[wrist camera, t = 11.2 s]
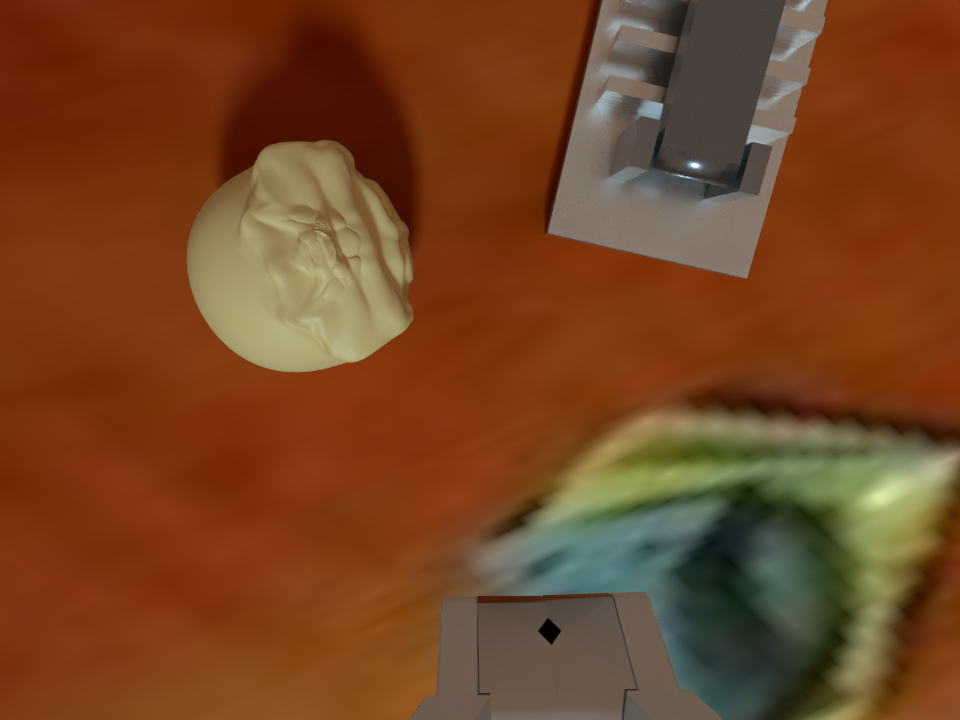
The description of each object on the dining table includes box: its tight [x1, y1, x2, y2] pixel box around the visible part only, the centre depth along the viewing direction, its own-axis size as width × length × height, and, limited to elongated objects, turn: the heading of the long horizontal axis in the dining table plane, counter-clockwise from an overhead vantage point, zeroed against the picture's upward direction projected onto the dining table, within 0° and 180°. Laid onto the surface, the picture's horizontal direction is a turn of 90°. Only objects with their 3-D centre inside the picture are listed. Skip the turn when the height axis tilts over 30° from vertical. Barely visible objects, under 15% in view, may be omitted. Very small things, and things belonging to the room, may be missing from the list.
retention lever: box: [649, 0, 786, 188], centre depth 32 cm, size 2×4×15 cm
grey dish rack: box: [545, 0, 828, 278], centre depth 35 cm, size 20×12×8 cm, turn 167°
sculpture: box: [187, 140, 414, 372], centre depth 36 cm, size 11×12×11 cm
